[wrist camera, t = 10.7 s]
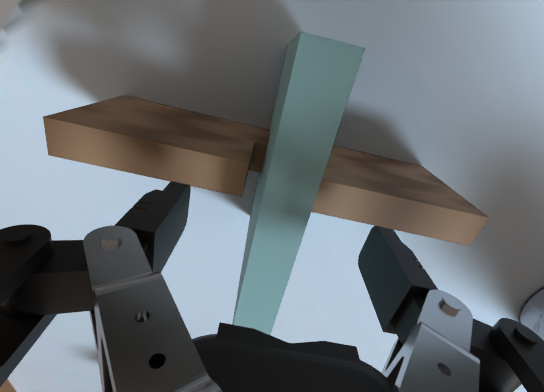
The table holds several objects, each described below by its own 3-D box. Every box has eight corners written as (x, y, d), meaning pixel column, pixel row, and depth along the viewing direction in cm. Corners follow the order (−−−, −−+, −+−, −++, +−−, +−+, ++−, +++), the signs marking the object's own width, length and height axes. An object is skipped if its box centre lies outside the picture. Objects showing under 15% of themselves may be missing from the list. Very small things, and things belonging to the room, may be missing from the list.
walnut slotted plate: (423, 166, 23) (489, 217, 16) (412, 188, 24) (470, 245, 17) (124, 95, 21) (43, 116, 14) (124, 121, 22) (48, 155, 14)
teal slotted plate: (315, 51, 19) (365, 48, 8) (271, 220, 25) (268, 341, 15) (287, 44, 19) (301, 31, 8) (250, 216, 25) (230, 335, 15)
